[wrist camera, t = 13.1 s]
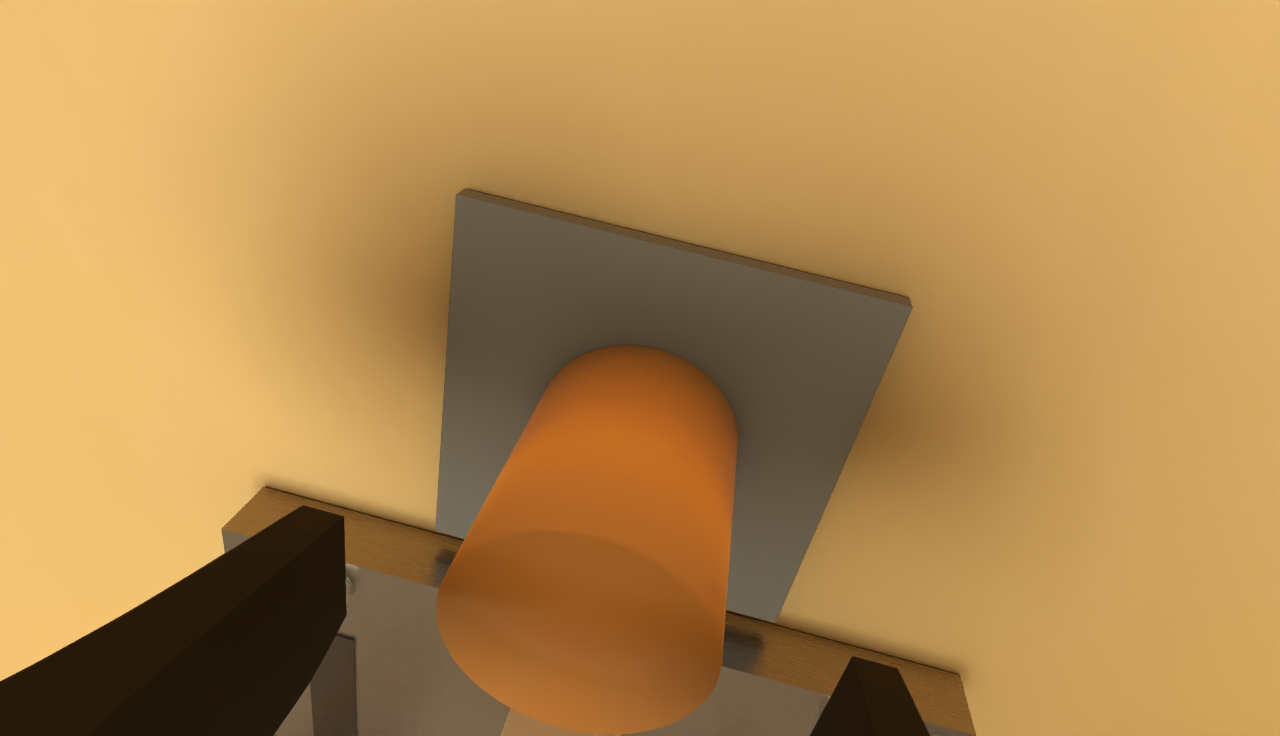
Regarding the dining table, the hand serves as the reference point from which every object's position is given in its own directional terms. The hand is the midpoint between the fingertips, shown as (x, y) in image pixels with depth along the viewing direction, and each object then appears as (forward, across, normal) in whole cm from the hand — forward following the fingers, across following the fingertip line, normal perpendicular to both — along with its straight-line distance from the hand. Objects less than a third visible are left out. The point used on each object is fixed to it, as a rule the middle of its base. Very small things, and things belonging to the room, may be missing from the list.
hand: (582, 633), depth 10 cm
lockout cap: (+5, 0, 0) cm, 5 cm away
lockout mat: (+5, 0, 0) cm, 5 cm away
